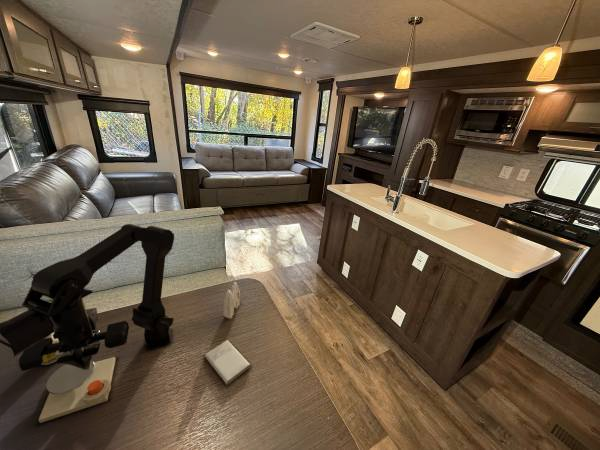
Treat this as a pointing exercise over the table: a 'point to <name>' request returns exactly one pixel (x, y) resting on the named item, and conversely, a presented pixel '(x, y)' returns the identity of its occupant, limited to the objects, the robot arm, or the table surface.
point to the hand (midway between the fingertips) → (87, 367)
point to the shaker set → (231, 301)
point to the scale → (80, 393)
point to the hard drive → (227, 361)
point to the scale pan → (68, 378)
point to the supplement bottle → (50, 357)
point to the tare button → (95, 387)
